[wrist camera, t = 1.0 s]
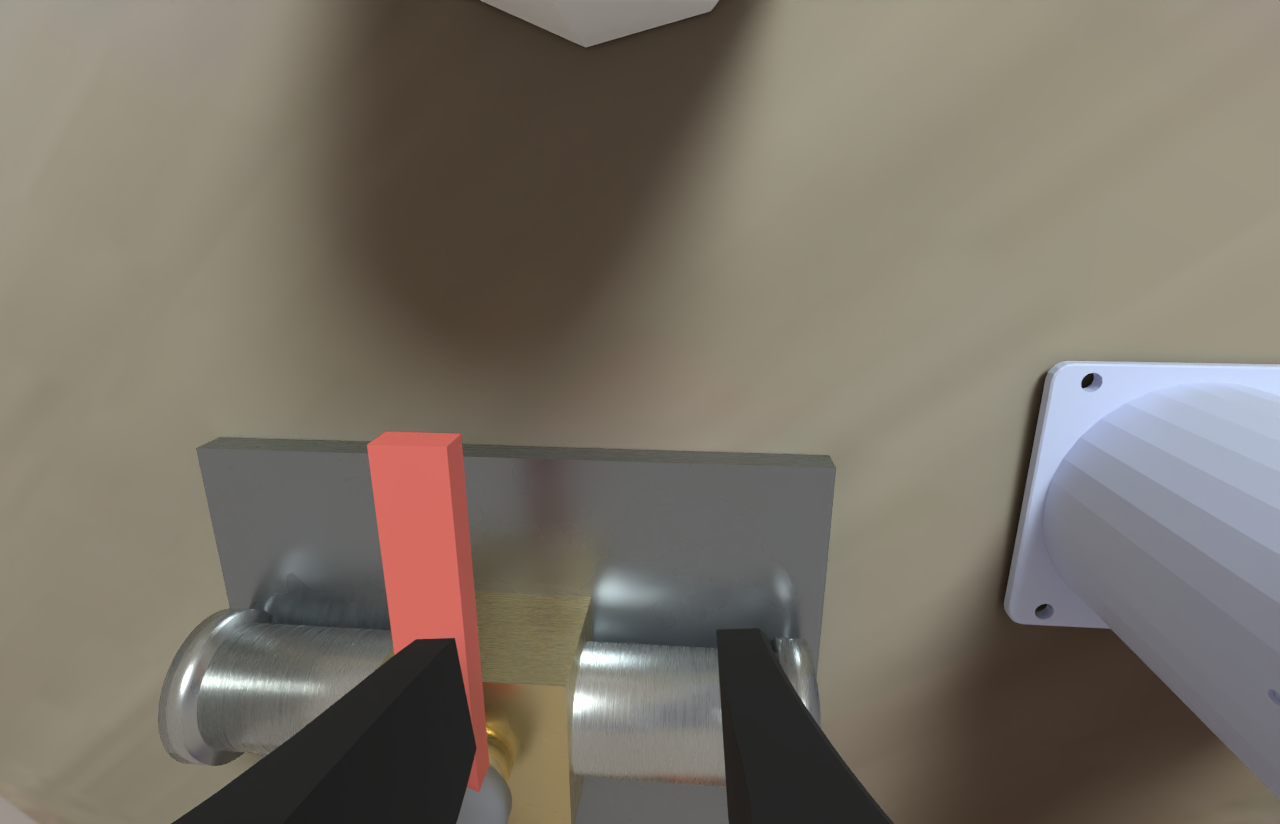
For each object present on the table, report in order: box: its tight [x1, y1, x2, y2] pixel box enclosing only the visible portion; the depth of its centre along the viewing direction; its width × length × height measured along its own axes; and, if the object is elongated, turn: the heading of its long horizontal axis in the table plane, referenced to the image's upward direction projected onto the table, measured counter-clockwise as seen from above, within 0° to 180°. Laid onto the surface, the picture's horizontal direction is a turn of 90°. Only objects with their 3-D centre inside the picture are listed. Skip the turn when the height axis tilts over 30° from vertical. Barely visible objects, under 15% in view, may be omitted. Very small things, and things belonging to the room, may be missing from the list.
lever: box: [367, 432, 512, 824], centre depth 15 cm, size 11×3×1 cm, turn 0°
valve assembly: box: [158, 437, 836, 824], centre depth 19 cm, size 19×14×6 cm
